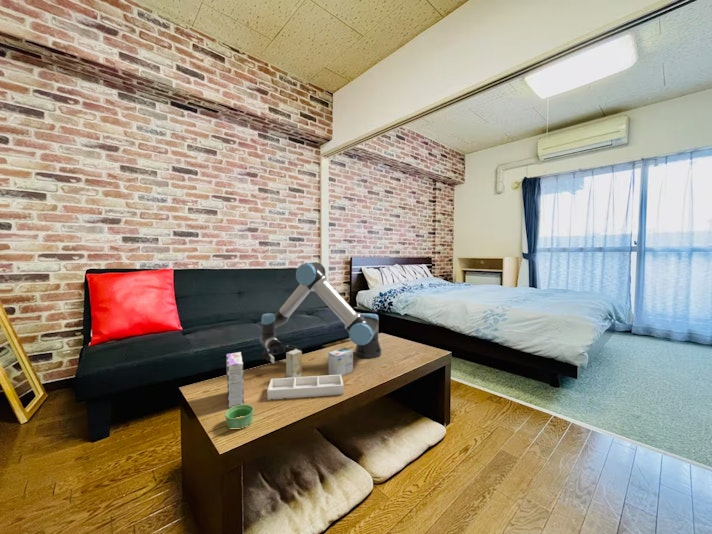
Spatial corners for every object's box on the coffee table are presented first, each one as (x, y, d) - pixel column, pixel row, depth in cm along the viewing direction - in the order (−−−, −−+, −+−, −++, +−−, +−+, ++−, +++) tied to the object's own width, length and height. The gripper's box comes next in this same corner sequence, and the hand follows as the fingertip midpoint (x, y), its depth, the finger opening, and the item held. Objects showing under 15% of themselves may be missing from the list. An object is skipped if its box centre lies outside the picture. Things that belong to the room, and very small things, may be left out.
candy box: (227, 392, 121) (226, 353, 120) (242, 389, 123) (241, 351, 122) (227, 408, 108) (226, 365, 107) (244, 404, 111) (243, 362, 110)
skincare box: (292, 381, 131) (292, 354, 130) (285, 378, 133) (285, 352, 133) (302, 376, 136) (302, 350, 136) (295, 373, 139) (295, 348, 138)
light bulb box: (344, 367, 146) (344, 346, 146) (353, 371, 141) (353, 350, 141) (327, 374, 139) (327, 352, 138) (337, 378, 134) (336, 355, 133)
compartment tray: (341, 382, 129) (341, 374, 129) (343, 394, 119) (343, 385, 119) (271, 387, 125) (271, 378, 125) (267, 399, 114) (267, 390, 114)
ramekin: (231, 416, 103) (231, 404, 103) (257, 415, 104) (256, 403, 103) (221, 432, 94) (220, 419, 94) (249, 431, 95) (249, 418, 94)
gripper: (295, 348, 166) (311, 360, 148) (250, 357, 152) (261, 371, 134) (295, 335, 165) (311, 345, 147) (250, 343, 152) (261, 355, 134)
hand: (287, 357), depth 141 cm, fingers open, 13 cm apart
